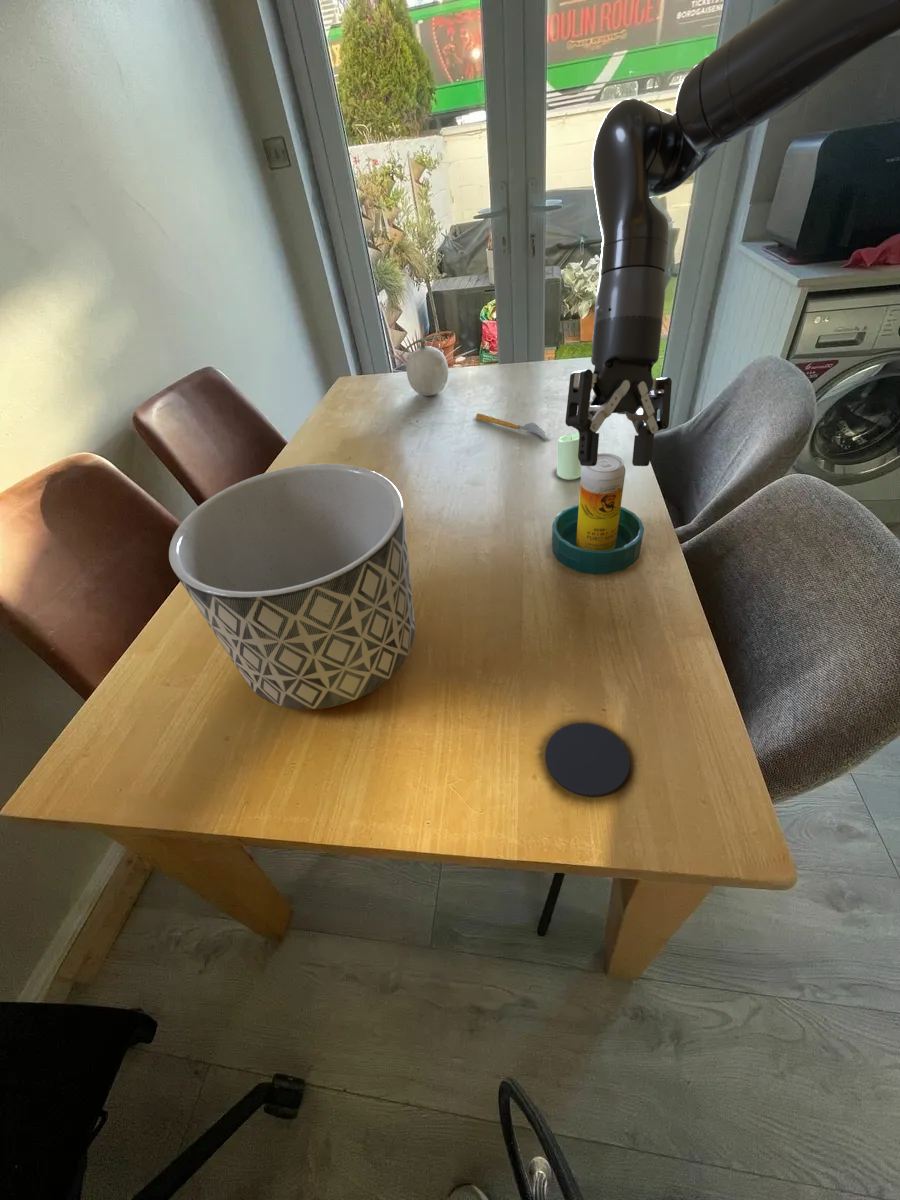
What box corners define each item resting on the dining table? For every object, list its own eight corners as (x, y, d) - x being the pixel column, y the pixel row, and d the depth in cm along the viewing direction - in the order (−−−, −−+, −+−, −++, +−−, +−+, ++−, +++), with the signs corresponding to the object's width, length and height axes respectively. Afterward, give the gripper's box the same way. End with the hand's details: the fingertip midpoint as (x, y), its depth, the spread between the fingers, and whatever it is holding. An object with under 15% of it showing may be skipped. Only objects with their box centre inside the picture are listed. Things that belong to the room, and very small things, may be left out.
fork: (472, 414, 127) (544, 431, 116) (477, 409, 128) (549, 426, 117) (475, 423, 129) (546, 441, 118) (480, 418, 130) (551, 436, 119)
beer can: (586, 562, 85) (594, 476, 75) (569, 541, 90) (574, 457, 80) (622, 553, 86) (634, 467, 76) (603, 533, 90) (613, 448, 81)
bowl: (644, 531, 90) (648, 508, 87) (633, 583, 81) (637, 559, 78) (562, 520, 95) (563, 498, 92) (542, 568, 86) (543, 545, 83)
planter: (402, 740, 65) (366, 601, 50) (203, 721, 69) (117, 590, 55) (442, 594, 83) (423, 462, 69) (283, 587, 88) (235, 463, 74)
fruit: (406, 389, 147) (397, 329, 137) (449, 384, 147) (443, 323, 137) (406, 404, 139) (397, 342, 129) (451, 399, 139) (445, 336, 129)
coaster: (634, 736, 62) (635, 734, 62) (622, 808, 56) (623, 806, 56) (555, 716, 65) (555, 714, 65) (536, 782, 59) (536, 780, 59)
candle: (551, 473, 107) (552, 434, 102) (569, 464, 109) (571, 424, 104) (570, 482, 104) (573, 442, 98) (588, 472, 106) (592, 432, 101)
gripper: (603, 305, 57) (591, 467, 61) (697, 321, 63) (681, 466, 67) (557, 319, 63) (549, 465, 67) (647, 332, 69) (634, 465, 74)
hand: (615, 465), depth 67 cm, fingers open, 8 cm apart
